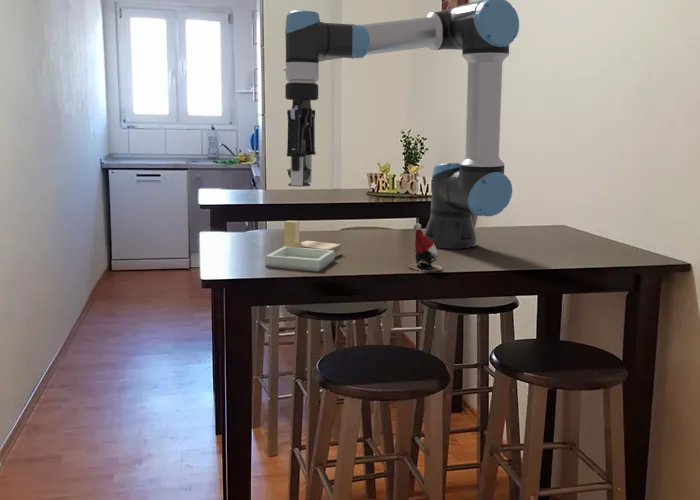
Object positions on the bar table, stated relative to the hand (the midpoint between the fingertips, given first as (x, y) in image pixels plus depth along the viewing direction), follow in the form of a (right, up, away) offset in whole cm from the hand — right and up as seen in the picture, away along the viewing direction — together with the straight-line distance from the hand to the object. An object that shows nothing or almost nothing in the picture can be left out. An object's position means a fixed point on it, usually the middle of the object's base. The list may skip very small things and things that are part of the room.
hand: (301, 183), depth 166 cm
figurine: (+29, -20, +4) cm, 36 cm away
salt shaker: (0, -1, 0) cm, 1 cm away
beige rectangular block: (+3, -17, +15) cm, 23 cm away
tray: (0, -19, +4) cm, 19 cm away
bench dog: (-4, -16, +17) cm, 24 cm away
